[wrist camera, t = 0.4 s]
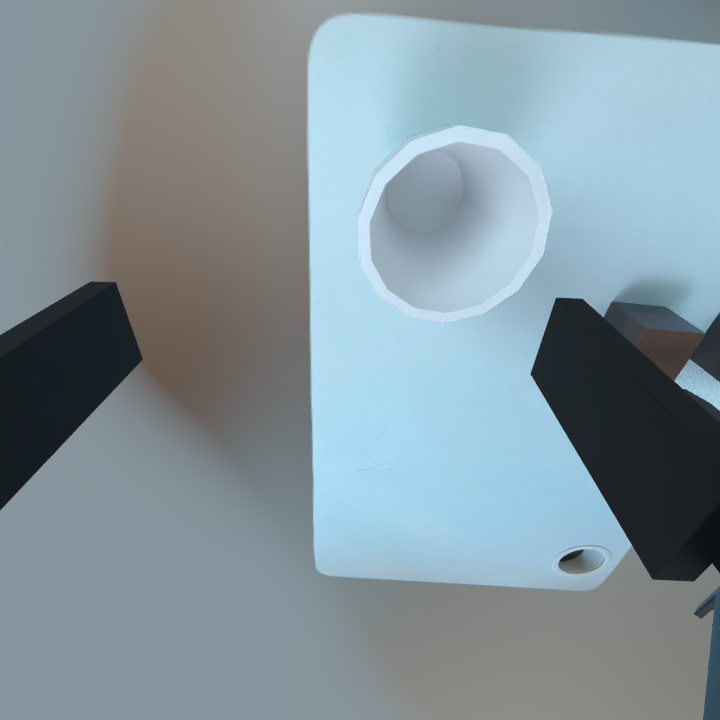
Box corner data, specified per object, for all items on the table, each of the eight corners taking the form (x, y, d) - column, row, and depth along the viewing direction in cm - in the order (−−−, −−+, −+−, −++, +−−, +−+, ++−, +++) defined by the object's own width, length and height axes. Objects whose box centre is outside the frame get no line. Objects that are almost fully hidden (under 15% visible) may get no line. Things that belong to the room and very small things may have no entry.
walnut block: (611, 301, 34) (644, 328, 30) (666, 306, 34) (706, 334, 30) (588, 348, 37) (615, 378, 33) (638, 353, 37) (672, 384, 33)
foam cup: (361, 124, 27) (351, 132, 16) (491, 115, 27) (571, 117, 16) (367, 254, 32) (363, 325, 22) (477, 248, 32) (529, 319, 21)
